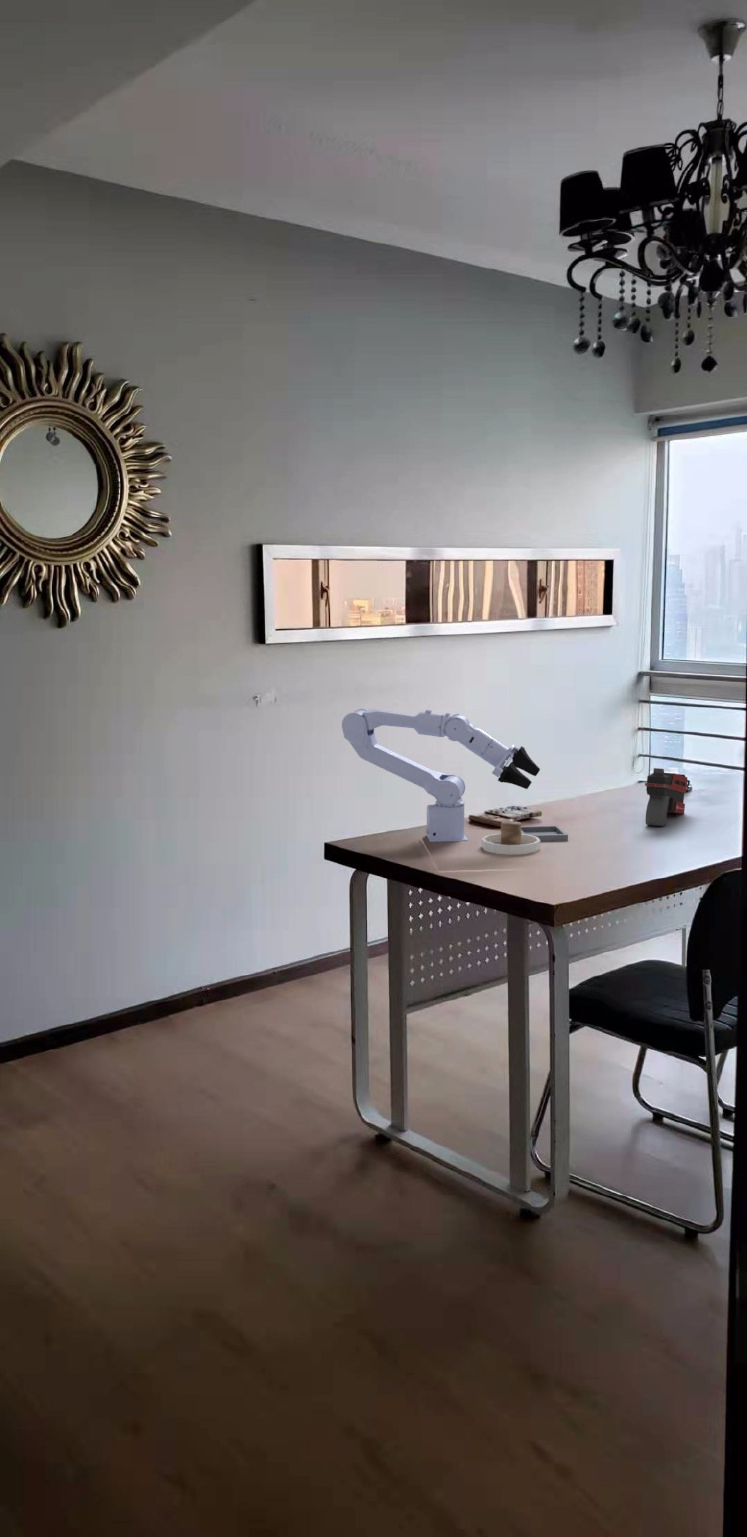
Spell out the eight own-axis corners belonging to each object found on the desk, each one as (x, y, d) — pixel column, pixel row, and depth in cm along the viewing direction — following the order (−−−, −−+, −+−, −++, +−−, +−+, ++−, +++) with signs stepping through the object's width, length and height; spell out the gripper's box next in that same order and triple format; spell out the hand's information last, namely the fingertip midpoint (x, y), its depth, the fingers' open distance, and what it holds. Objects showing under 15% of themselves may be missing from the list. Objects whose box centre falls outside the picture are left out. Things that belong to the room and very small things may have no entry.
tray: (523, 843, 294) (524, 835, 294) (515, 833, 305) (515, 826, 305) (567, 841, 295) (568, 834, 295) (557, 832, 306) (557, 825, 305)
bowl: (487, 856, 280) (487, 846, 280) (478, 843, 294) (478, 833, 293) (544, 855, 281) (544, 844, 281) (532, 842, 294) (533, 832, 294)
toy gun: (641, 824, 310) (646, 766, 311) (663, 827, 331) (668, 773, 332) (661, 826, 308) (667, 768, 308) (683, 829, 329) (687, 775, 329)
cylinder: (502, 850, 285) (503, 825, 284) (499, 845, 289) (499, 821, 288) (522, 849, 285) (522, 825, 284) (518, 845, 290) (519, 821, 289)
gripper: (486, 747, 285) (533, 779, 284) (504, 725, 297) (549, 755, 296) (472, 769, 289) (519, 800, 287) (490, 745, 301) (535, 776, 299)
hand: (533, 779), depth 292 cm, fingers open, 7 cm apart
